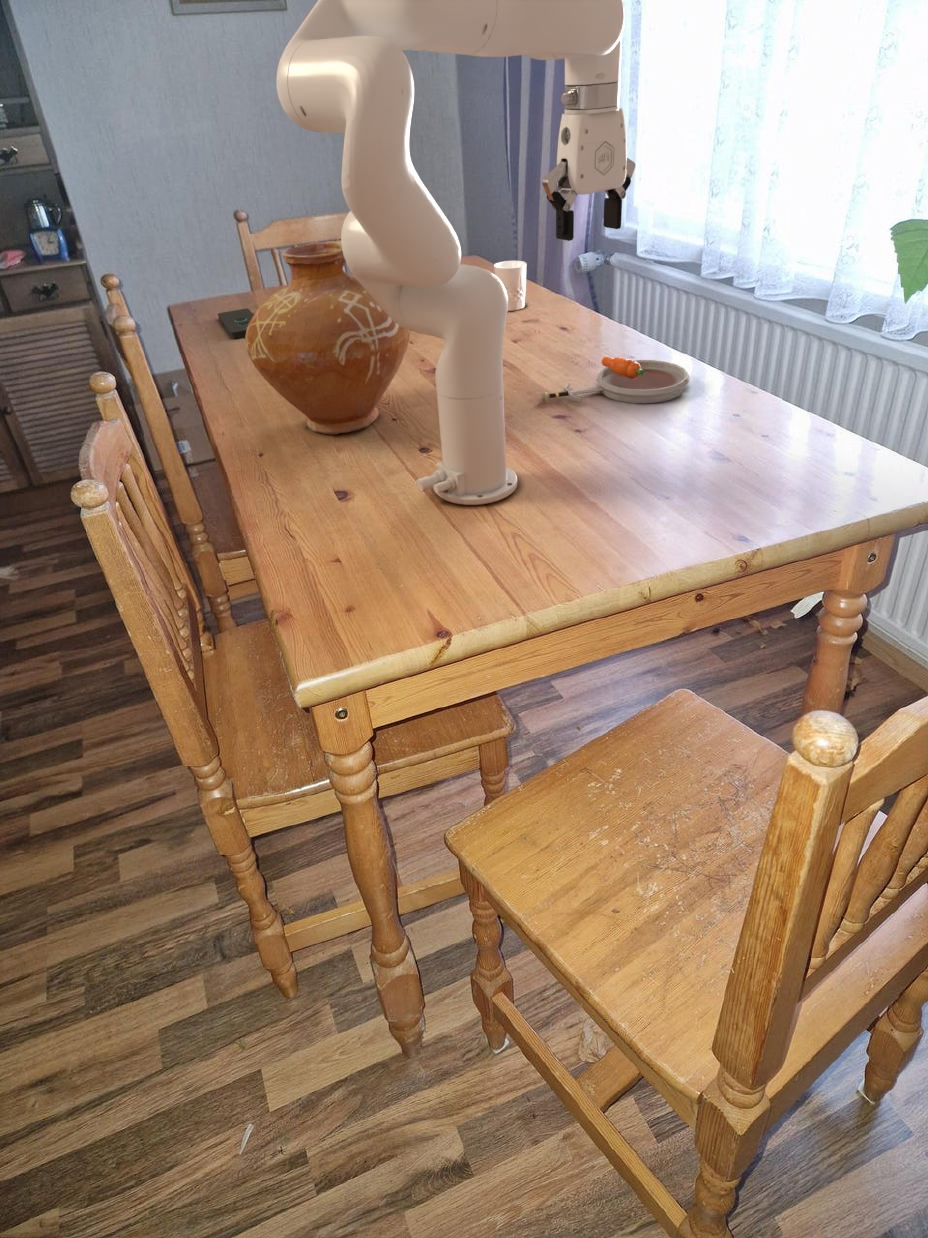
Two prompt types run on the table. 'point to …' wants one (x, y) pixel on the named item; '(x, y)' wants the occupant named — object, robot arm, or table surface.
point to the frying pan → (636, 384)
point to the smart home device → (236, 322)
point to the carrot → (623, 366)
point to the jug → (326, 342)
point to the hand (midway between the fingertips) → (588, 233)
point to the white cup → (513, 282)
